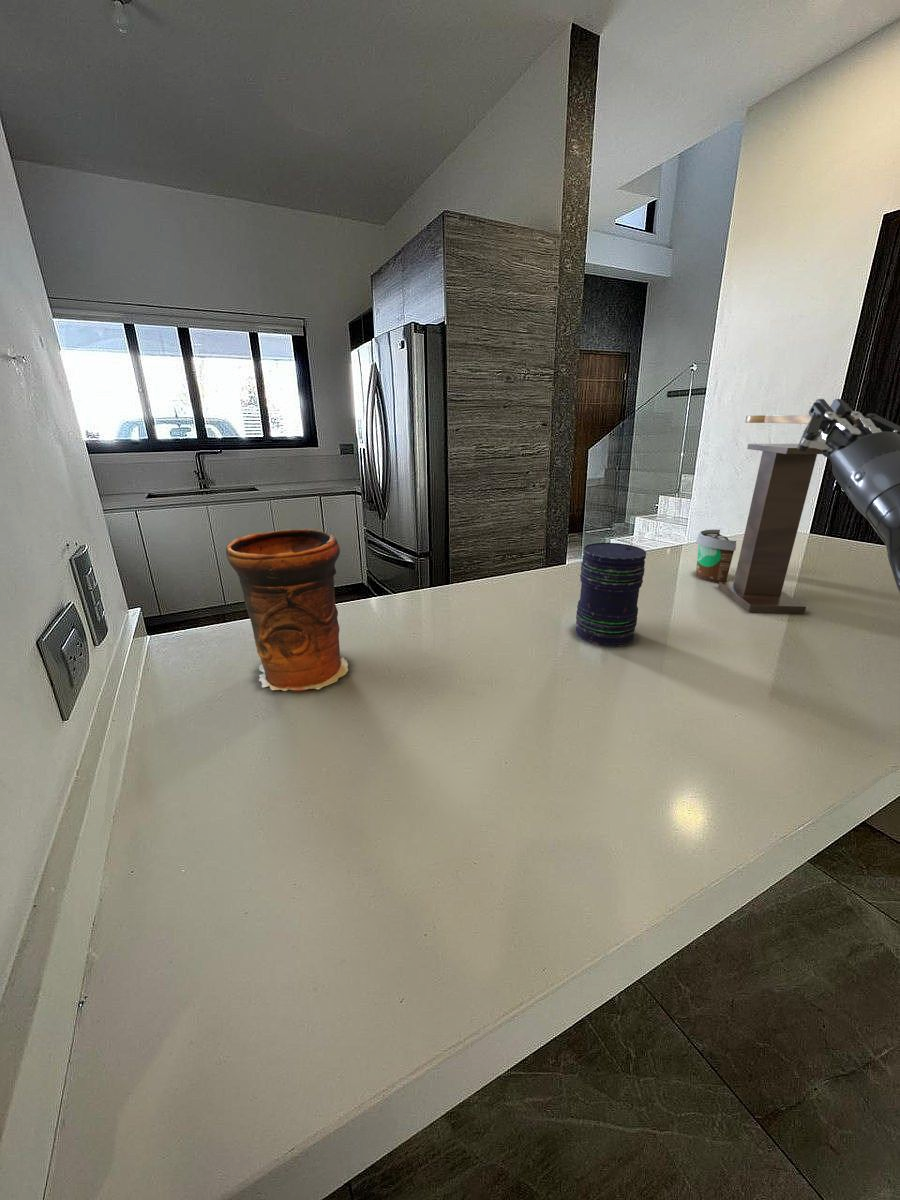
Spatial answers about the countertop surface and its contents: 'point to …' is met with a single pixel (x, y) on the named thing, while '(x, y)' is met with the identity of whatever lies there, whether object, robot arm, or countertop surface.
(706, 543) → the food container
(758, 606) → the brown pedestal stand
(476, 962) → the countertop surface
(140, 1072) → the countertop surface
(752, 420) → the wooden spoon
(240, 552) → the vessel
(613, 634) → the storage jar
